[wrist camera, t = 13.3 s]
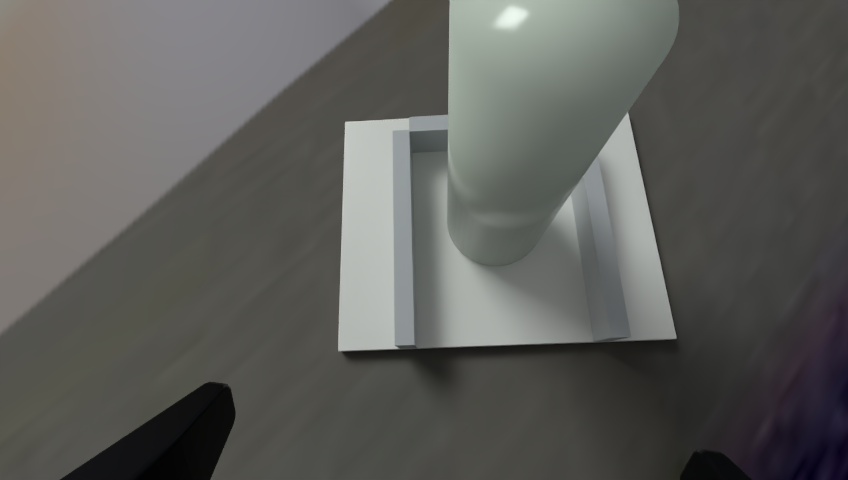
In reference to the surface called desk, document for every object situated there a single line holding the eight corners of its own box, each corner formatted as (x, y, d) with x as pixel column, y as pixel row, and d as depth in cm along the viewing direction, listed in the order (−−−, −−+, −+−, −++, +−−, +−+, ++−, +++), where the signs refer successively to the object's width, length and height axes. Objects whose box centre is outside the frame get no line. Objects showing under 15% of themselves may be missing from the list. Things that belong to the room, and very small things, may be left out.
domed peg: (547, 264, 20) (703, 92, 8) (449, 268, 20) (455, 106, 8) (535, 176, 21) (653, -83, 9) (444, 180, 21) (444, -69, 9)
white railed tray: (669, 339, 19) (703, 334, 16) (341, 351, 19) (326, 348, 17) (622, 113, 23) (643, 81, 20) (347, 128, 23) (336, 98, 21)
